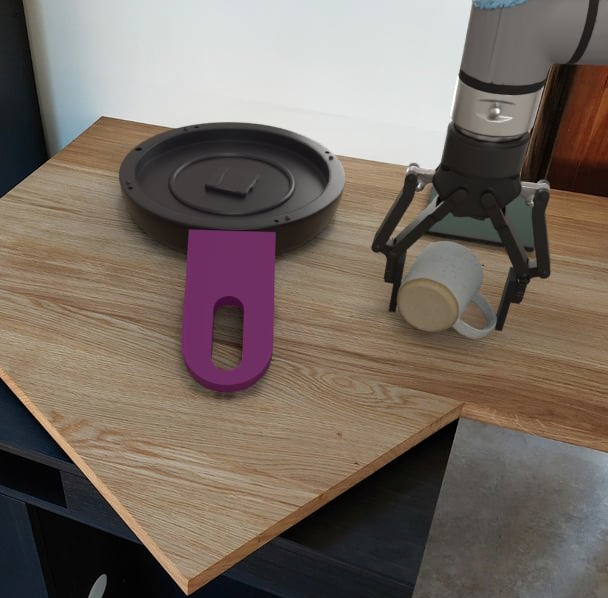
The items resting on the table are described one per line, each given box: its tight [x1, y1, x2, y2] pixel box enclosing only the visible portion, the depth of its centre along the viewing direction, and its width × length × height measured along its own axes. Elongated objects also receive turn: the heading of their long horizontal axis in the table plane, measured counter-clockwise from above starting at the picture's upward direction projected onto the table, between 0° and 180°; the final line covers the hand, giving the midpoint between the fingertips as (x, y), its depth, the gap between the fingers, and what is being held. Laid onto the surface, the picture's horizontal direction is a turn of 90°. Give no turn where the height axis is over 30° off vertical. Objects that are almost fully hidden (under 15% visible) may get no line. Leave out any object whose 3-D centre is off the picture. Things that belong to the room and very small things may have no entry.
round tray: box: [118, 121, 346, 256], centre depth 105 cm, size 30×6×30 cm
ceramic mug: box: [396, 240, 497, 340], centre depth 85 cm, size 11×8×8 cm
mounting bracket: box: [180, 230, 276, 393], centre depth 85 cm, size 10×8×18 cm
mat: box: [424, 185, 535, 253], centre depth 106 cm, size 14×14×1 cm
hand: (445, 314), depth 87 cm, fingers closed on ceramic mug, 11 cm apart
